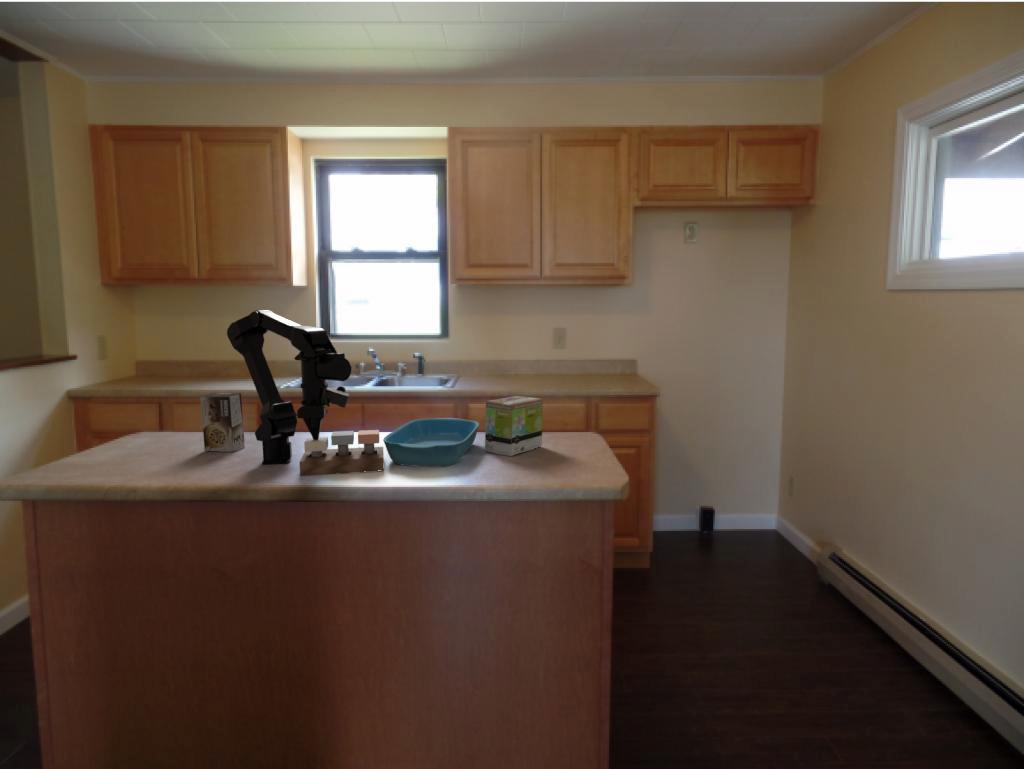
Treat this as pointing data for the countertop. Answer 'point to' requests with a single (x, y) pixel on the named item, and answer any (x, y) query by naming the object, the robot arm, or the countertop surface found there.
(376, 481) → the countertop surface
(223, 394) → the coffee box
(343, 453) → the slate key
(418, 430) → the casserole dish
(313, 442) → the cream key
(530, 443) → the tea box
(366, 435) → the terracotta key
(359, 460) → the key block
